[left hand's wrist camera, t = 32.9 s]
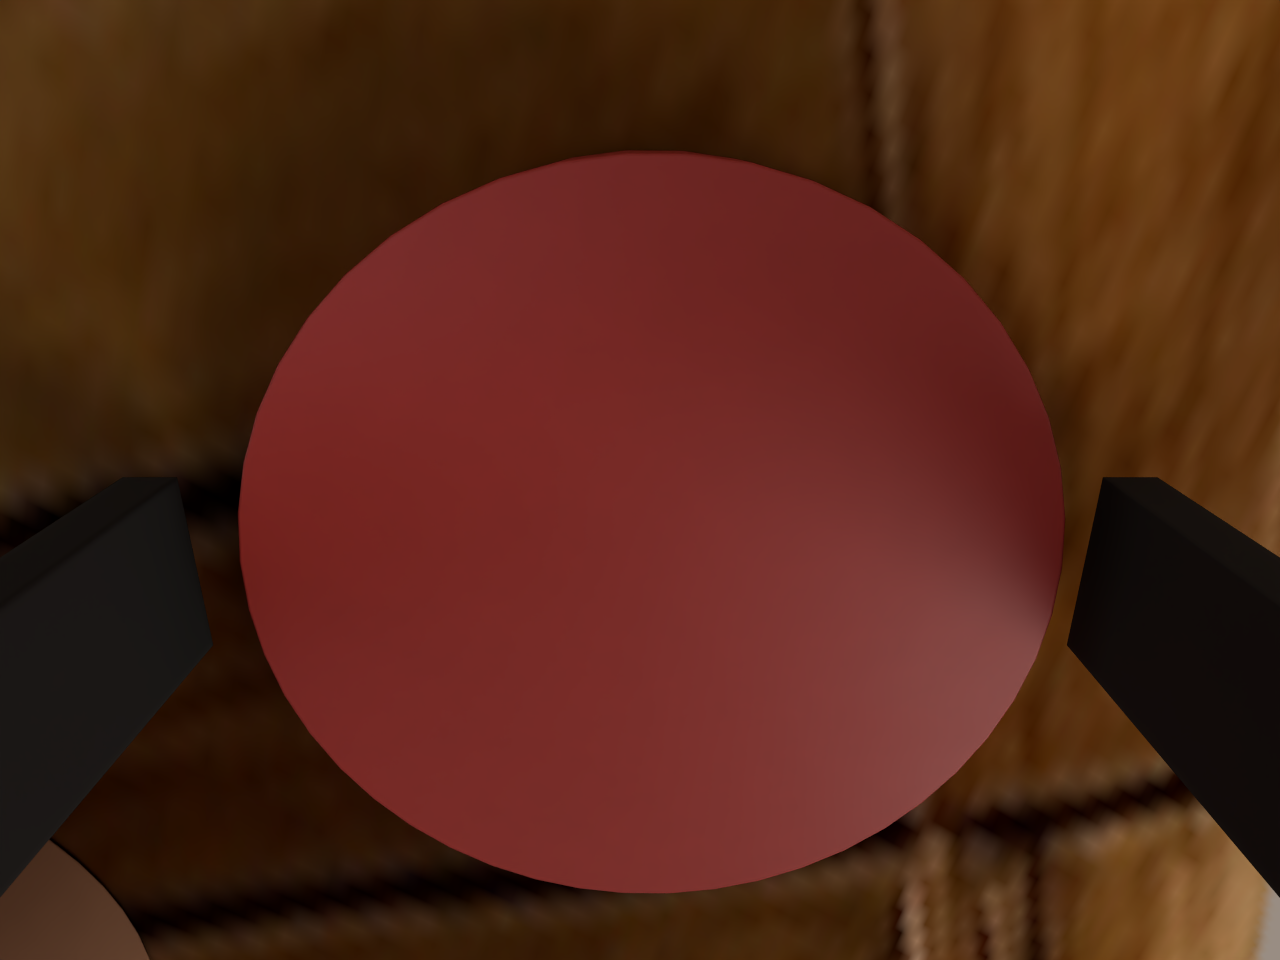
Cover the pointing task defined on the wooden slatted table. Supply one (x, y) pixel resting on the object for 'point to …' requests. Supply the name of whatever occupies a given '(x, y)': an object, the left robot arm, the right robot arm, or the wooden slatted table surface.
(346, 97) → the wooden slatted table surface
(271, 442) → the lid
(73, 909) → the jar
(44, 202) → the wooden slatted table surface
